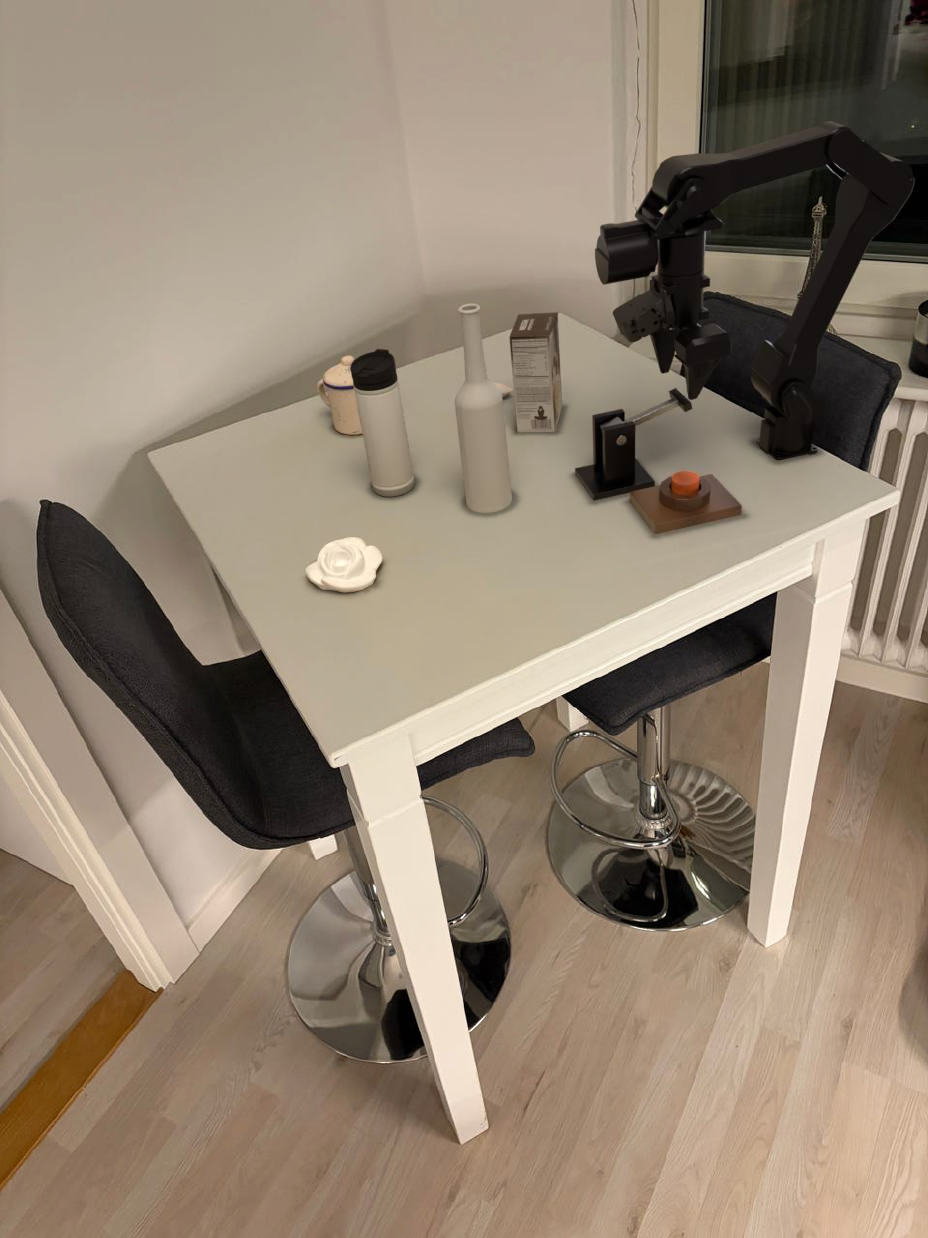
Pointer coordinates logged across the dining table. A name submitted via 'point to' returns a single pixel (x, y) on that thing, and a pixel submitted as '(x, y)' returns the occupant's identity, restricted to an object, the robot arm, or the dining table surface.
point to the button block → (684, 505)
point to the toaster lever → (656, 410)
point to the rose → (345, 565)
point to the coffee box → (536, 372)
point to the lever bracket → (613, 460)
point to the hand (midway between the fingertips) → (678, 385)
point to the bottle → (481, 425)
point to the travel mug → (383, 422)
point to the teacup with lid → (341, 397)
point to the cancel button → (685, 483)
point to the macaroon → (503, 389)
